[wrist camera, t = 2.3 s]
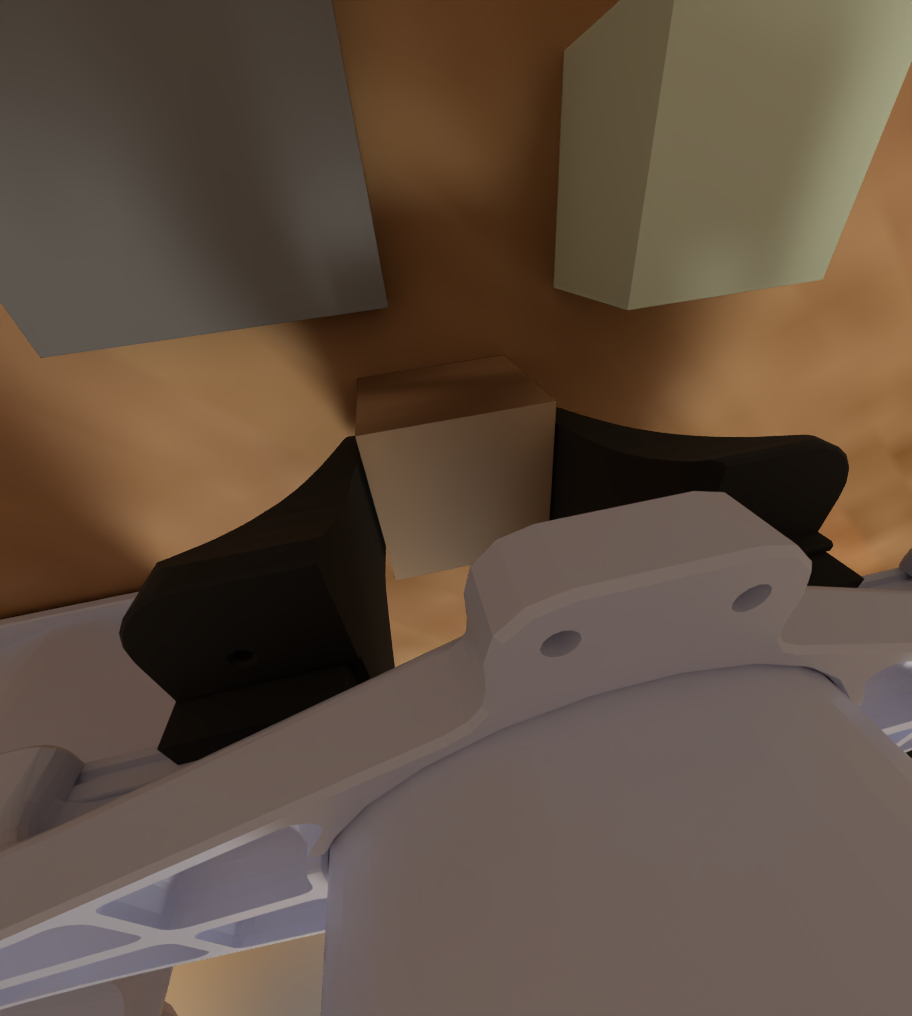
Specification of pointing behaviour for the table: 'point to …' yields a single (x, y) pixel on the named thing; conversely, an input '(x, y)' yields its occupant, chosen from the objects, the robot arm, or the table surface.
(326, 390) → the table surface
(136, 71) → the slate board
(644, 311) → the table surface
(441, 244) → the table surface
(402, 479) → the walnut block
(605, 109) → the sage cube
